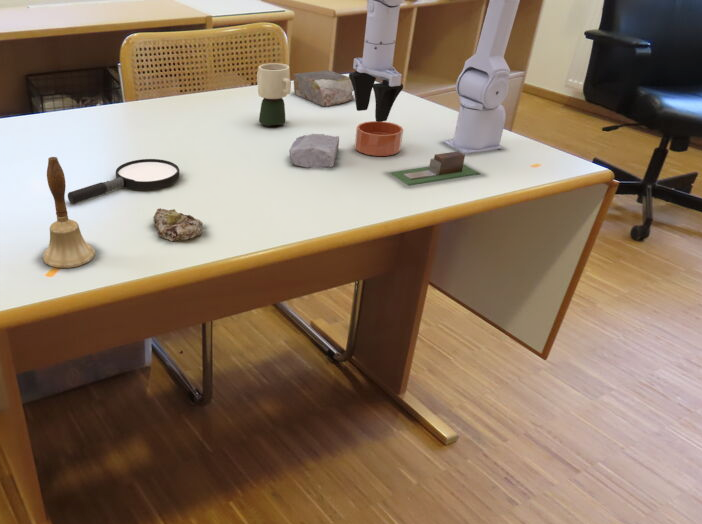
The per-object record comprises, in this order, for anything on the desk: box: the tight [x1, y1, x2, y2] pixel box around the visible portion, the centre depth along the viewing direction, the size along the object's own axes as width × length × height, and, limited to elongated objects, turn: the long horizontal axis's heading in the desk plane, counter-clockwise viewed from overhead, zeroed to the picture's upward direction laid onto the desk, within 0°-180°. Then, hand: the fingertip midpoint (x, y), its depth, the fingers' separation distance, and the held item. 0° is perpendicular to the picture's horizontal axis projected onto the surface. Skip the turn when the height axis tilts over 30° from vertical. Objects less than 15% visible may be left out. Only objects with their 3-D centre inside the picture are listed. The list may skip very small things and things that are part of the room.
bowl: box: [354, 120, 404, 157], centre depth 146 cm, size 10×10×5 cm
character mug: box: [256, 62, 292, 127], centre depth 159 cm, size 11×7×13 cm, turn 40°
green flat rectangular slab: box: [389, 163, 481, 187], centre depth 136 cm, size 17×7×1 cm, turn 110°
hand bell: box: [42, 156, 96, 269], centre depth 105 cm, size 8×8×16 cm
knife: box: [404, 150, 466, 180], centre depth 135 cm, size 12×3×3 cm, turn 110°
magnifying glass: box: [67, 158, 180, 205], centre depth 132 cm, size 12×24×2 cm, turn 132°
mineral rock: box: [152, 207, 204, 242], centre depth 116 cm, size 11×4×8 cm
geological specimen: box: [293, 70, 354, 107], centre depth 180 cm, size 11×6×15 cm
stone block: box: [288, 133, 340, 169], centre depth 144 cm, size 12×5×10 cm
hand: (371, 115), depth 135 cm, fingers open, 7 cm apart
